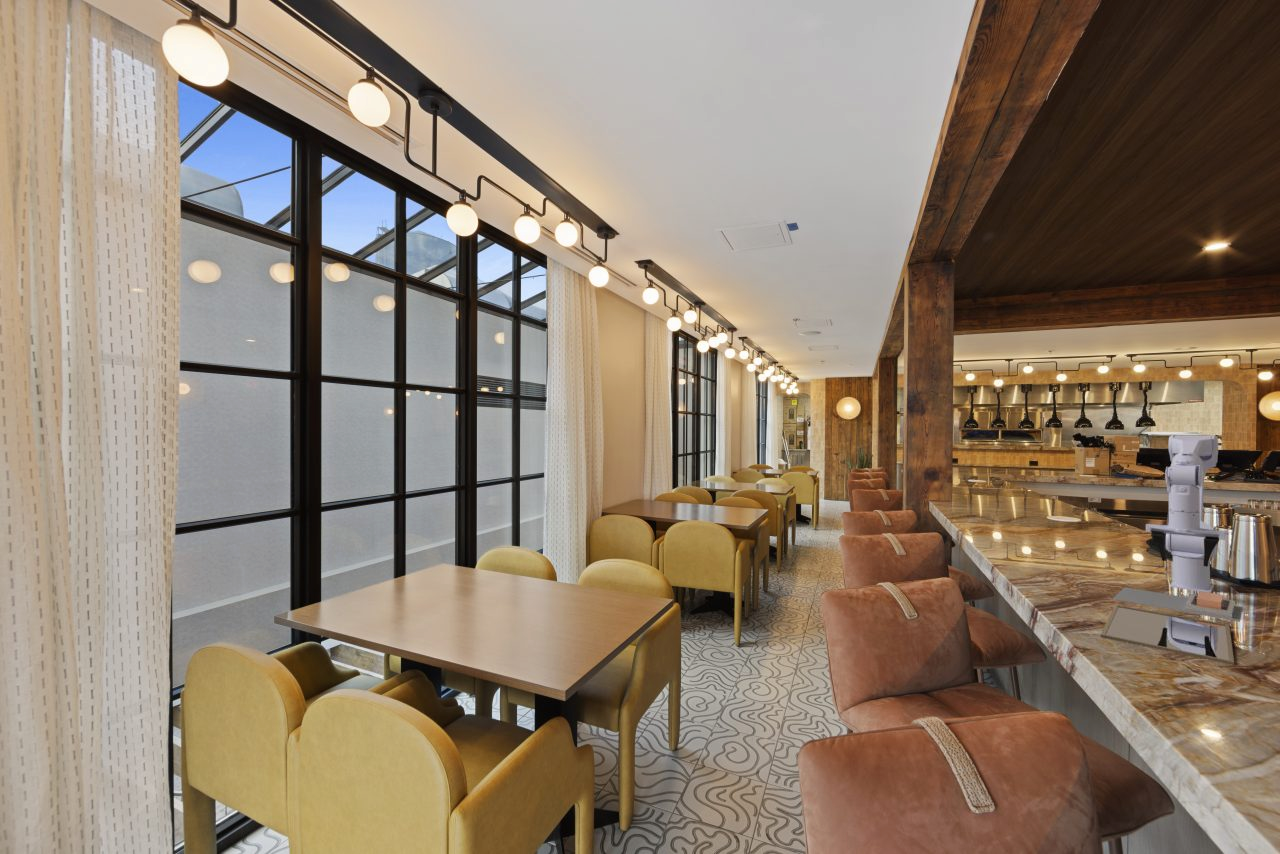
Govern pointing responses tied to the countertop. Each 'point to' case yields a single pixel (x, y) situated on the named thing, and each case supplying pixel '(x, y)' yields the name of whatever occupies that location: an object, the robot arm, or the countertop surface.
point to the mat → (1166, 601)
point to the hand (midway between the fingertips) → (1184, 563)
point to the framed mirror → (1170, 633)
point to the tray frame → (1208, 610)
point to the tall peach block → (1210, 600)
